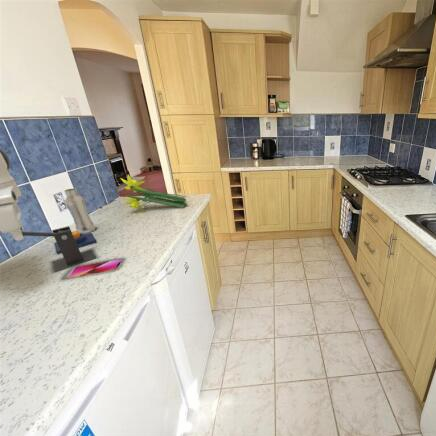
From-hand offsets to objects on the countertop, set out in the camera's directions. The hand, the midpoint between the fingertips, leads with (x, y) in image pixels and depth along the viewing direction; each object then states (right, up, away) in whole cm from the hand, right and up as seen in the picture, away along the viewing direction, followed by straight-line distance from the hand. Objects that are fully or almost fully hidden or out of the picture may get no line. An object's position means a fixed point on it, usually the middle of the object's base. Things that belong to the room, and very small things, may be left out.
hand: (20, 236), depth 74 cm
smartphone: (+18, -12, +6) cm, 23 cm away
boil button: (-3, -2, +21) cm, 22 cm away
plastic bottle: (-8, -1, +34) cm, 35 cm away
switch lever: (+3, -1, +4) cm, 5 cm away
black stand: (+7, -10, +12) cm, 17 cm away
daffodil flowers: (+8, +12, +62) cm, 63 cm away
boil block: (-3, -6, +23) cm, 24 cm away
